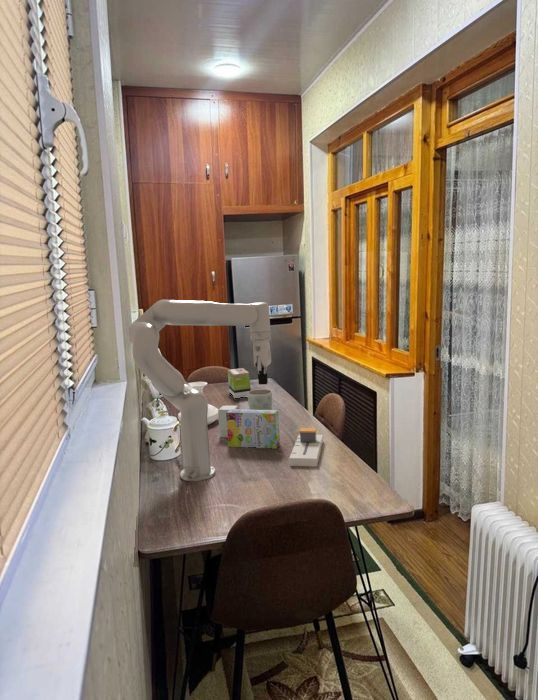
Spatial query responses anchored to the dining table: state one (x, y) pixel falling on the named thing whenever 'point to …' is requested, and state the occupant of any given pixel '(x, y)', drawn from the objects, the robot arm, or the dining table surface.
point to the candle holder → (212, 411)
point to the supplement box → (224, 419)
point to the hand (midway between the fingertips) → (263, 383)
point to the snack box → (253, 428)
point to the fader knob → (308, 435)
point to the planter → (260, 399)
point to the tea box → (239, 382)
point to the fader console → (306, 452)
